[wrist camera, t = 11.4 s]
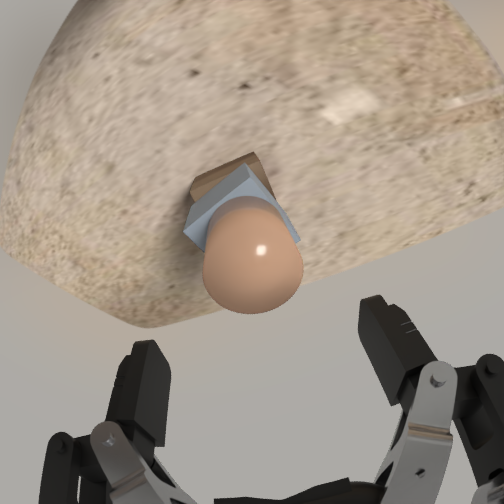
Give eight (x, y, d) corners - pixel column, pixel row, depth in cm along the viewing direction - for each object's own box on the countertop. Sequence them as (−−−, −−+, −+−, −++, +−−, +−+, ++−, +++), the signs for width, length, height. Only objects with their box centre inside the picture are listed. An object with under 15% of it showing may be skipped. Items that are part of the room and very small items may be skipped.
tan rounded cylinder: (199, 204, 17) (191, 239, 13) (279, 189, 17) (299, 219, 13) (216, 271, 20) (215, 320, 15) (288, 259, 20) (305, 304, 15)
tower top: (191, 206, 22) (183, 231, 18) (244, 162, 21) (250, 177, 17) (234, 251, 25) (237, 285, 20) (286, 213, 23) (300, 239, 19)
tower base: (195, 177, 26) (189, 191, 22) (253, 151, 25) (259, 160, 21) (221, 229, 29) (221, 252, 25) (276, 206, 28) (286, 225, 24)
